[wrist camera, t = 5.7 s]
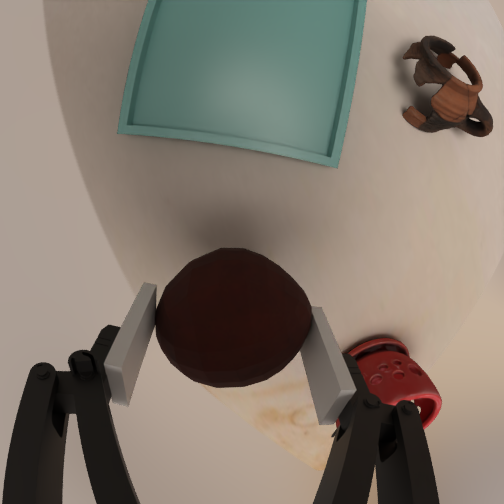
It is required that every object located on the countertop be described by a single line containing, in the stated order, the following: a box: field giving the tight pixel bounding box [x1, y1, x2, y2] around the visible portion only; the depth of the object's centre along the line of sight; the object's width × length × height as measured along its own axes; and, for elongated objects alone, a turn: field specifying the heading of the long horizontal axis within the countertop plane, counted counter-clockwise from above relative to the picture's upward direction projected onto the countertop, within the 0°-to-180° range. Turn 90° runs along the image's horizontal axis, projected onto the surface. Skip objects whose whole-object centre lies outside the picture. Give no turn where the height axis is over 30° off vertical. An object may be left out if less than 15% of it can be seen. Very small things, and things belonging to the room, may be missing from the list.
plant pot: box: [336, 338, 442, 429], centre depth 31 cm, size 13×13×12 cm
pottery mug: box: [403, 36, 493, 137], centre depth 21 cm, size 12×10×8 cm
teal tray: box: [117, 0, 367, 168], centre depth 20 cm, size 20×20×2 cm
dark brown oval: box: [155, 248, 312, 388], centre depth 16 cm, size 8×9×8 cm
